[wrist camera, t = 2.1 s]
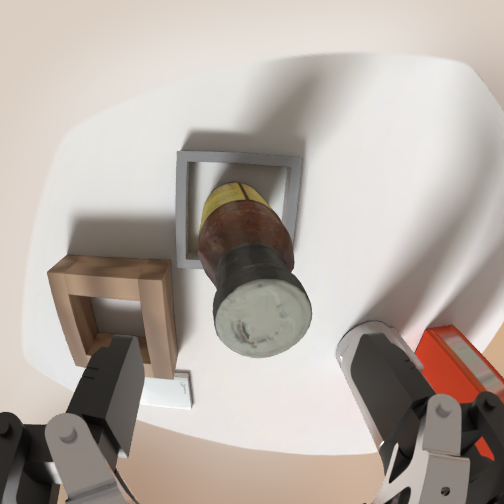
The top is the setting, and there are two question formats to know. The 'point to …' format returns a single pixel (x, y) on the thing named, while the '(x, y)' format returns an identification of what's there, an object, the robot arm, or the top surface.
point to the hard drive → (167, 392)
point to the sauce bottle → (251, 273)
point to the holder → (116, 287)
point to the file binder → (458, 369)
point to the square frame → (186, 157)
